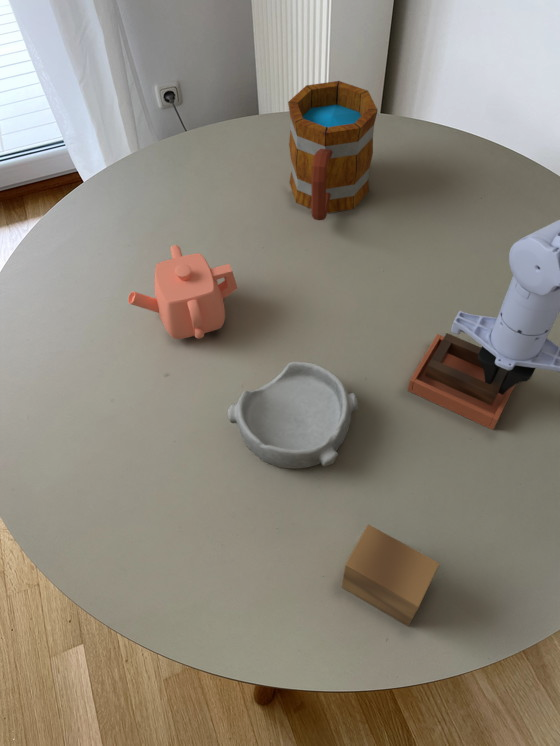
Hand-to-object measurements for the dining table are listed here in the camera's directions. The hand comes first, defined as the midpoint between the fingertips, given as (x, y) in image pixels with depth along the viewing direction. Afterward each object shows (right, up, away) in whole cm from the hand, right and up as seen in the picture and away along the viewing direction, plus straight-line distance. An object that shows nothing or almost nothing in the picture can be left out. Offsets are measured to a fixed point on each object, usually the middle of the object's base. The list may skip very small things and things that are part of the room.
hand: (496, 385), depth 82 cm
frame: (-3, +1, +1) cm, 4 cm away
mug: (-20, +30, +26) cm, 44 cm away
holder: (-3, 0, +4) cm, 5 cm away
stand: (-16, -22, -11) cm, 29 cm away
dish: (-25, -5, +1) cm, 26 cm away
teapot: (-41, +10, +12) cm, 43 cm away
